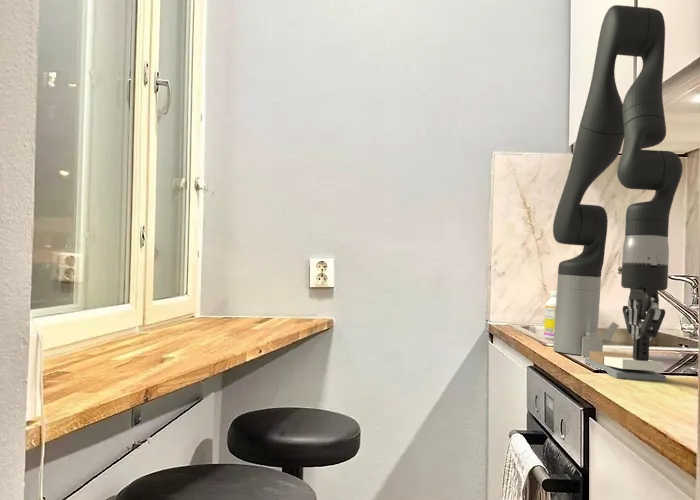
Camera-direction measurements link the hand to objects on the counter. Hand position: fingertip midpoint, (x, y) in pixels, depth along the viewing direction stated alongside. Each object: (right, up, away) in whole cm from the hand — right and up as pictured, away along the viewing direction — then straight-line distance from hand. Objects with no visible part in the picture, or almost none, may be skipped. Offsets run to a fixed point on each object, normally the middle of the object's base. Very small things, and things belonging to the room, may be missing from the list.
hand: (640, 360), depth 121 cm
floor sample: (0, -3, +8) cm, 8 cm away
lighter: (+2, -4, +26) cm, 27 cm away
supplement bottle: (+4, -4, +61) cm, 61 cm away
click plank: (0, -2, +3) cm, 4 cm away
